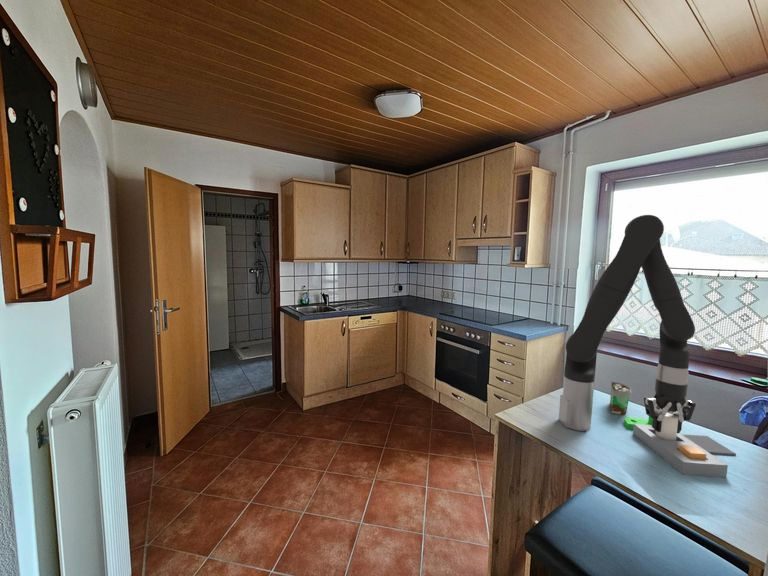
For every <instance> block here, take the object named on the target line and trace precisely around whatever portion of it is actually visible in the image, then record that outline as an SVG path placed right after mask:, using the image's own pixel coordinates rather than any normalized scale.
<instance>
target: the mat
mask: <svg viewBox="0 0 768 576" xmlns="http://www.w3.org/2000/svg"><path fill="white" fill-rule="evenodd" d="M682 435H683V436H685V437H686V438H688V439H689V440H691V441H692V442H694V443H695V444H697V445H698V446H700V447H701V448H703V449H704V450H706V451H707V452H709V453H710V454H712V455H721V456H736V455H737V454H736V452H734V451H732V450H730V449H729V448H727V446H725V445H722V444H721V443H719V442H718V441H716V440H714V439H713V438H711V437H710V436H708V435H697V434H696V435H695V434H682Z"/></svg>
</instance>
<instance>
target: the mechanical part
mask: <svg viewBox="0 0 768 576" xmlns="http://www.w3.org/2000/svg"><path fill="white" fill-rule="evenodd" d="M660 410H661V411H662V409H660ZM623 421H624V422H623V424H624V426H625V427H626V429H628V430H633V427H634V424H645V425H652V422H653V418H651V417H650V416H648V419H644V418H637V417H630V416H626V417H624V419H623Z"/></svg>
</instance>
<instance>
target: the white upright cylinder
mask: <svg viewBox="0 0 768 576" xmlns="http://www.w3.org/2000/svg"><path fill="white" fill-rule="evenodd" d="M661 421H662V423H661V432H657V431H656V433H655V435H656V436H657V437H659V438H660V439H661V440H667V441H676V437H677V427H678V417H677V416H675V415H673V413H671V412H670V413H669V412H667V413H666V415H664V416H663V418H662V420H661Z"/></svg>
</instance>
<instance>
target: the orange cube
mask: <svg viewBox="0 0 768 576" xmlns="http://www.w3.org/2000/svg"><path fill="white" fill-rule="evenodd" d="M679 451H680V452H682V453H683V454H684V455H686V456H687V457H688V458H690V459H703V460H706V454H705V453H704V452H702V451H701V450H699V449H698V448H696V447H695V446H687V445H679Z"/></svg>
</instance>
